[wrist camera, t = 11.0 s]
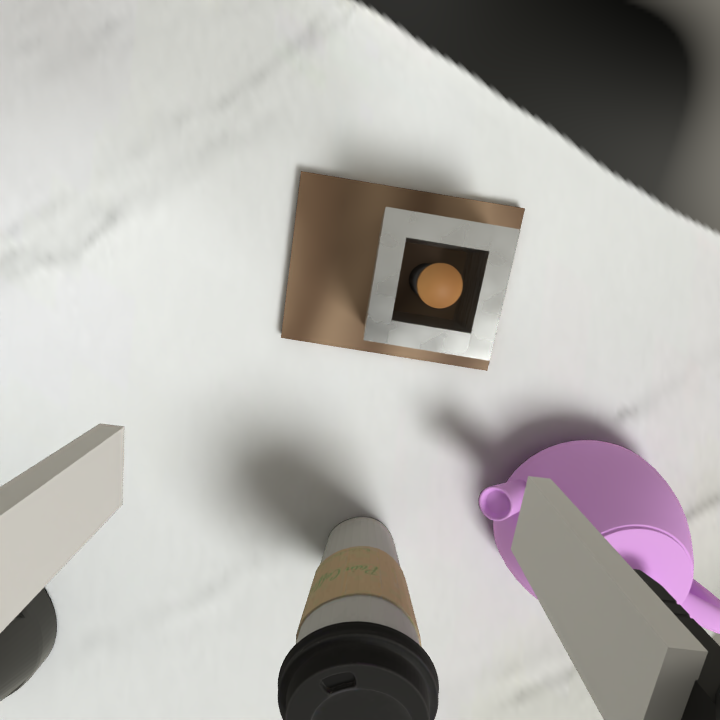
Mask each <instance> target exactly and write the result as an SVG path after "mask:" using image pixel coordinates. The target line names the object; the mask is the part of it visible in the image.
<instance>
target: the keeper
mask: <svg viewBox="0 0 720 720" xmlns="http://www.w3.org/2000/svg"><path fill="white" fill-rule="evenodd" d="M385 207H391V208H397V209H403V210H409V211H414V212H420V213H426V214H432V215H438V216H444V217H450V218H456V219H462V220H468V221H474V222H479V223H485V224H491V225H497V226H503V227H509V228H515V229H520V228H521V223H522V219H523V215H524V210H525V208H519V207H513V206H507V205H501V204H495V203H489V202H483V201H477V200H471V199H465V198H459V197H453V196H447V195H441V194H435V193H429V192H423V191H417V190H411V189H405V188H399V187H393V186H387V185H381V184H375V183H369V182H363V181H357V180H351V179H345V178H339V177H333V176H327V175H321V174H315V173H309V172H303V171H301V176H300V184H299V192H298V201H297V209H296V217H295V226H294V234H293V242H292V250H291V259H290V267H289V275H288V284H287V292H286V300H285V309H284V317H283V325H282V334H281V338H286V339H292V340H299V341H305V342H311V343H317V344H324V345H330V346H336V347H342V348H349V349H355V350H361V351H367V352H374V353H380V354H386V355H392V356H399V357H405V358H411V359H417V360H424V361H430V362H436V363H442V364H449V365H455V366H461V367H467V368H474V369H480V370H486V371H487V369H488V365H489V361H488V360H482V359H476V358H470V357H463V356H457V355H451V354H445V353H439V352H433V351H427V350H421V349H414V348H408V347H402V346H396V345H390V344H384V343H378V342H372V341H366V340H363V338H364V324H365V318H366V312H367V306H368V300H369V294H370V288H371V282H372V276H373V270H374V264H375V258H376V252H377V246H378V240H379V234H380V228H381V222H382V216H383V213H384V210H385ZM466 257H467V252H462V251H456V250H450V249H444V248H439V247H433V246H427V245H421V244H415V243H409V242H405V248H404V253H403V259H402V264H401V270H400V275H399V281H398V286H397V292H396V298H395V303H394V309H393V310H395V311H401V312H407V313H413V314H419V315H425V316H431V317H437V318H443V319H450V320H453V318H454V313H455V309H456V304H457V299H458V298H459V297H460V295H461V292H462V288H463V282H462V276H463V271H464V266H465V261H466Z"/></svg>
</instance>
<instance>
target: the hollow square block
mask: <svg viewBox="0 0 720 720" xmlns="http://www.w3.org/2000/svg"><path fill="white" fill-rule="evenodd" d="M519 234H520V229H515V228H509V227H503V226H497V225H491V224H485V223H479V222H474V221H468V220H462V219H456V218H450V217H444V216H438V215H432V214H426V213H420V212H414V211H409V210H403V209H397V208H391V207H385V210H384V213H383V216H382V222H381V228H380V234H379V240H378V246H377V252H376V258H375V264H374V270H373V276H372V282H371V288H370V294H369V300H368V306H367V312H366V318H365V324H364V338H363V340H366V341H372V342H378V343H384V344H390V345H396V346H402V347H408V348H414V349H421V350H427V351H433V352H439V353H445V354H451V355H457V356H463V357H470V358H476V359H482V360H488V361H490V356H491V352H492V348H493V344H494V340H495V335H496V331H497V327H498V323H499V318H500V314H501V310H502V306H503V301H504V297H505V293H506V289H507V284H508V280H509V276H510V272H511V267H512V263H513V259H514V255H515V251H516V246H517V242H518V238H519ZM405 242H409V243H415V244H421V245H427V246H433V247H439V248H444V249H450V250H456V251H462V252H467V257H466V261H465V266H464V271H463V276H462V282H463V288H462V292H461V295H460V297H459V298H458V299H457V304H456V309H455V313H454V318H453V320H450V319H443V318H437V317H431V316H425V315H419V314H413V313H407V312H401V311H395V310H393V309H394V303H395V298H396V292H397V286H398V281H399V275H400V270H401V264H402V259H403V253H404V248H405Z"/></svg>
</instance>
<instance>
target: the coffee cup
mask: <svg viewBox="0 0 720 720" xmlns="http://www.w3.org/2000/svg"><path fill="white" fill-rule="evenodd" d="M438 693H439V682H438V676H437V672H436V669H435V667H434V664H433V662H432V661H431V659H430V657H429V656H428V654H427V653H426V652H425V651H424V649H423V648H422V647H421V640H420V634H419V630H418V626H417V623H416V619H415V615H414V611H413V607H412V603H411V599H410V595H409V591H408V587H407V583H406V580H405V577H404V574H403V571H402V570H401V568H400V564H399V560H398V556H397V552H396V548H395V544H394V541H393V538H392V536H391V534H390V532H389V530H388V529H387V528H386V527H385V526H384V525H383V524H382V523H381V522H379V521H377V520H375V519H373V518H369V517H357V518H352V519H348V520H346V521H344V522H342V523H340V524H339V525H338V526H336V527H335V528H334V529H333V530H332V532H331V534H330V535H329V538H328V541H327V544H326V548H325V551H324V554H323V557H322V560H321V563H320V566H319V567H318V569H317V570H316V573H315V576H314V579H313V582H312V586H311V589H310V592H309V595H308V598H307V602H306V605H305V608H304V611H303V614H302V618H301V621H300V624H299V627H298V631H297V634H296V645H295V646H294V647H293V648H292V649H291V650H290V651H289V653H288V654H287V656H286V657H285V659H284V661H283V663H282V666H281V669H280V672H279V677H278V705H279V709H280V713H281V716H282V718H283V720H434V719H435V716H436V713H437V709H438Z"/></svg>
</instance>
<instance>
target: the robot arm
mask: <svg viewBox="0 0 720 720" xmlns="http://www.w3.org/2000/svg"><path fill="white" fill-rule="evenodd" d="M123 464H124V426H115V425H107V424H98V425H97V426H95V427H94V428H92V429H91V430H89V431H87V432H86V433H84V434H83V435H81V436H80V437H78V438H76V439H75V440H73V441H72V442H70V443H69V444H67V445H65V446H64V447H62V448H61V449H59V450H58V451H56V452H54V453H53V454H51V455H50V456H48V457H47V458H45V459H44V460H42V461H40V462H39V463H37V464H36V465H34V466H33V467H31V468H29V469H28V470H26V471H25V472H23V473H22V474H20V475H18V476H17V477H15V478H14V479H12V480H11V481H9V482H7V483H6V484H4V485H3V486H1V487H0V701H2V700H3V699H4V698H6V697H7V696H9V695H10V694H12V693H14V692H15V691H17V690H18V689H19V688H21V687H22V686H23V685H24V684H25V683H26V682H27V681H28V680H29V679H30V678H31V677H32V675H33V674H34V673H35V672H36V670H37V669H38V668H39V667H40V665H41V664H42V663H43V662H44V661H45V659H46V658H47V657H48V655H49V654H50V652H51V650H52V648H53V645H54V642H55V638H56V632H57V622H56V616H55V611H54V608H53V605H52V603H51V600H50V598H49V596H48V595H47V593H46V591H45V590H44V587H45V586H46V585H47V584H48V583H49V581H50V580H51V579H52V578H53V577H54V576H55V575H56V574H57V573H58V572H59V571H60V570H61V569H62V568H63V567H64V566H65V565H66V564H67V563H68V562H69V560H70V559H71V558H72V557H73V556H74V555H75V554H76V553H77V552H78V551H79V550H80V549H81V548H82V547H83V546H84V545H85V544H86V543H87V542H88V540H89V539H90V538H91V537H92V536H93V535H94V534H95V533H96V532H97V531H98V530H99V529H100V528H101V527H102V526H103V525H104V524H105V523H106V522H107V521H108V519H109V518H110V517H111V516H112V515H113V514H114V513H115V512H116V511H117V510H118V509H119V508H120V507H121V506H122V503H123ZM511 551H512V553H513V554H514V556H515V558H516V560H517V562H518V564H519V565H520V567H521V569H522V571H523V573H524V575H525V576H526V578H527V580H528V582H529V584H530V586H531V587H532V589H533V591H534V593H535V595H536V596H537V598H538V600H539V602H540V604H541V606H542V607H543V609H544V611H545V613H546V615H547V617H548V618H549V620H550V622H551V624H552V626H553V628H554V629H555V631H556V633H557V635H558V637H559V639H560V640H561V642H562V644H563V646H564V648H565V649H566V651H567V653H568V655H569V657H570V659H571V660H572V662H573V664H574V666H575V668H576V670H577V671H578V673H579V675H580V677H581V679H582V681H583V682H584V684H585V686H586V688H587V690H588V692H589V693H590V695H591V697H592V699H593V701H594V702H595V704H596V706H597V708H598V710H599V712H600V713H601V715H602V717H603V719H604V720H720V646H719V645H718V644H717V643H716V642H715V641H714V640H713V639H712V638H711V637H710V636H709V635H708V634H707V632H706V631H705V630H704V629H703V628H702V627H701V626H700V625H699V624H698V623H697V622H696V621H695V620H694V619H693V618H690V615H689V614H688V613H687V611H686V610H685V609H684V608H683V607H682V606H681V605H680V604H677V601H676V600H675V599H674V598H673V597H672V596H671V595H670V594H669V593H668V592H667V590H666V589H665V588H664V587H663V586H662V585H661V584H659V583H658V582H657V581H655V580H654V579H652V578H651V577H649V576H648V575H647V574H645V573H644V572H642V571H641V570H638V569H632V567H631V566H630V565H629V564H628V563H627V562H626V561H625V560H624V559H623V558H622V556H621V555H620V554H619V553H618V552H617V551H616V550H615V549H614V548H613V547H612V545H611V544H610V543H609V542H608V541H607V540H606V539H605V538H604V537H603V536H602V534H601V533H600V532H599V531H598V530H597V529H596V528H595V527H594V526H593V525H592V523H591V522H590V521H589V520H588V519H587V518H586V517H585V516H584V515H583V514H582V512H581V511H580V510H579V509H578V508H577V507H576V506H575V505H574V504H573V503H572V501H571V500H570V499H569V498H568V497H567V496H566V495H565V494H564V493H563V492H562V491H561V489H560V488H559V487H558V486H557V485H556V484H555V483H554V482H553V481H552V480H551V479H549V478H541V477H533V476H528V479H527V483H526V487H525V491H524V496H523V500H522V504H521V508H520V512H519V516H518V521H517V525H516V529H515V533H514V537H513V542H512V546H511Z"/></svg>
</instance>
